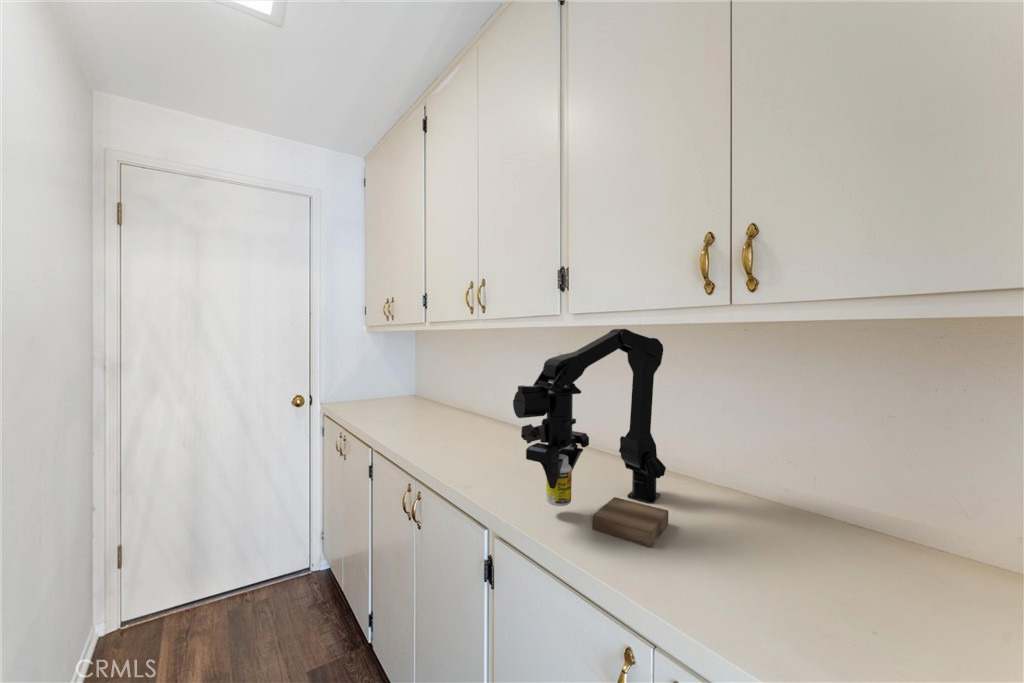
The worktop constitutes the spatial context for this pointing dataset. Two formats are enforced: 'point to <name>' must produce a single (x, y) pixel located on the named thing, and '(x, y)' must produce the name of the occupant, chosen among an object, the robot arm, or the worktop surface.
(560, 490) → the supplement bottle
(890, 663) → the worktop surface
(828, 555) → the worktop surface
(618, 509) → the walnut plinth
